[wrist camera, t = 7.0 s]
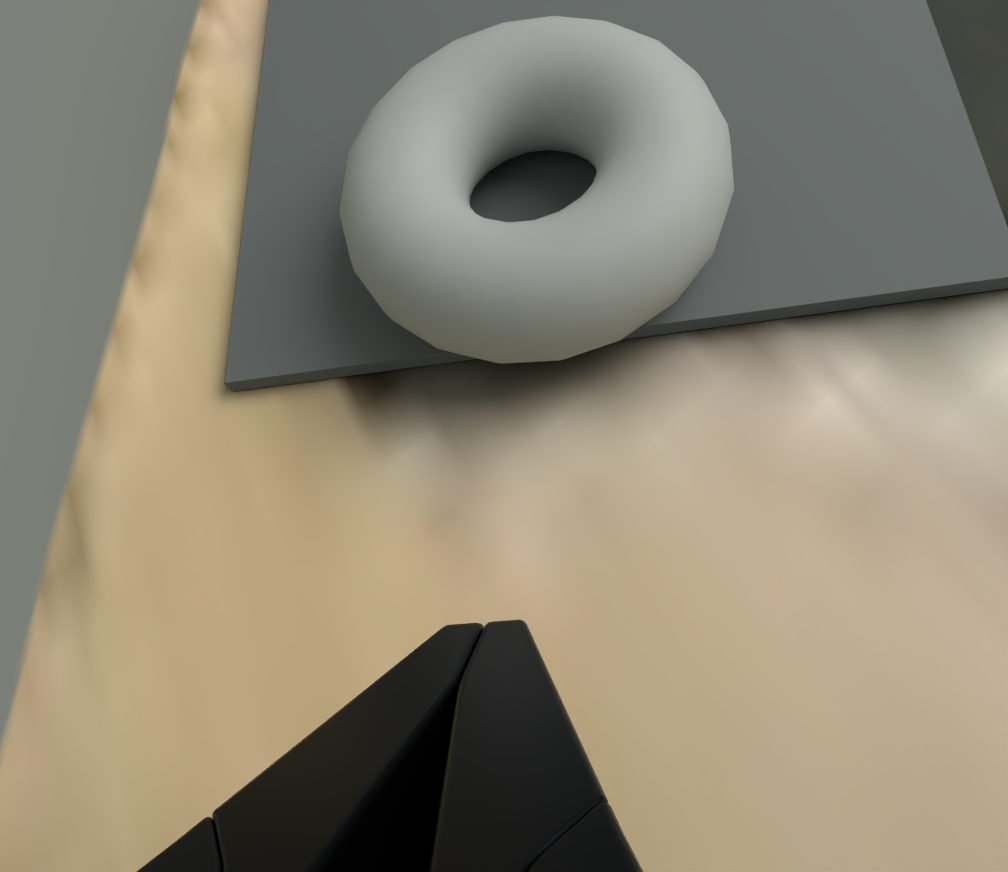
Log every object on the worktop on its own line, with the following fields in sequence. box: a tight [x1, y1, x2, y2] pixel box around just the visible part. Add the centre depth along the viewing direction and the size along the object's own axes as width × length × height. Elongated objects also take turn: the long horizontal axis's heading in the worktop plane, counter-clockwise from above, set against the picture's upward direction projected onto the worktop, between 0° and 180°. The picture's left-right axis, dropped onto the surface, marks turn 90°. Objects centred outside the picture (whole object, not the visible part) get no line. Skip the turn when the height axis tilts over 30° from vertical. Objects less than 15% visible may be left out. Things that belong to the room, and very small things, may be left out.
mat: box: [224, 0, 1008, 391], centre depth 26 cm, size 20×20×1 cm
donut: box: [339, 16, 734, 364], centre depth 22 cm, size 10×4×10 cm
